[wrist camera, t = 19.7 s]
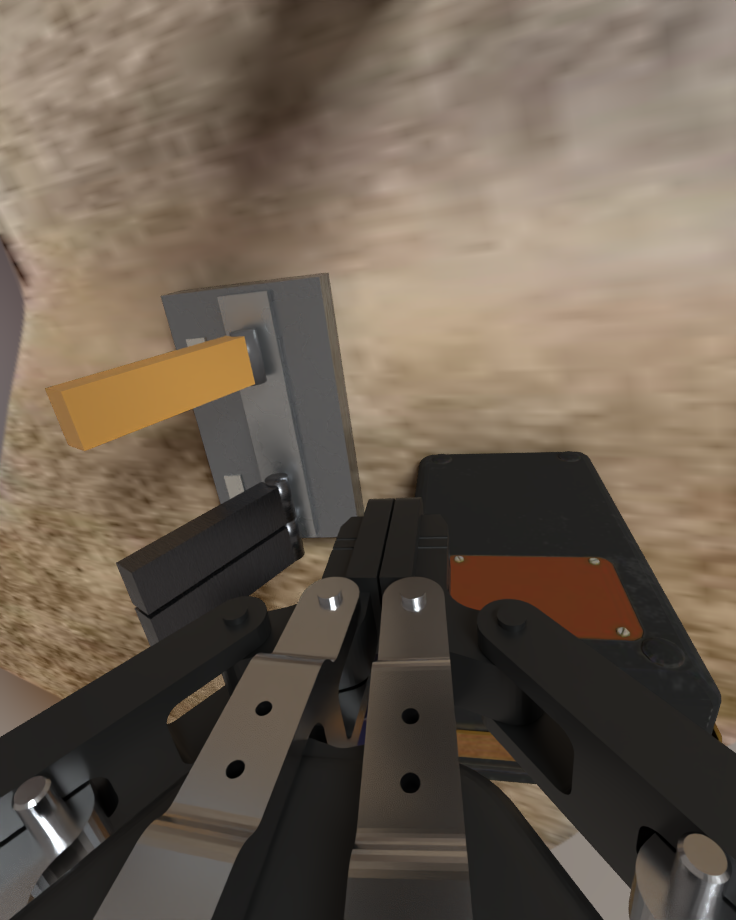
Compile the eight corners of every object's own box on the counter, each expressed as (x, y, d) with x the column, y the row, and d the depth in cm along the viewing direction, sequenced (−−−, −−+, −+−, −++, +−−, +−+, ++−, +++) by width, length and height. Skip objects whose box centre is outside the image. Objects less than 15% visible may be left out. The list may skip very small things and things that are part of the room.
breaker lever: (243, 327, 39) (43, 384, 29) (262, 328, 37) (59, 388, 27) (255, 377, 40) (69, 448, 30) (273, 379, 39) (86, 454, 29)
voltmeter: (417, 527, 49) (386, 789, 26) (412, 446, 45) (371, 671, 23) (587, 528, 46) (713, 821, 24) (597, 442, 42) (756, 693, 20)
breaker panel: (170, 292, 42) (4, 336, 27) (328, 272, 39) (246, 309, 24) (235, 526, 52) (142, 658, 36) (365, 523, 49) (325, 665, 34)
